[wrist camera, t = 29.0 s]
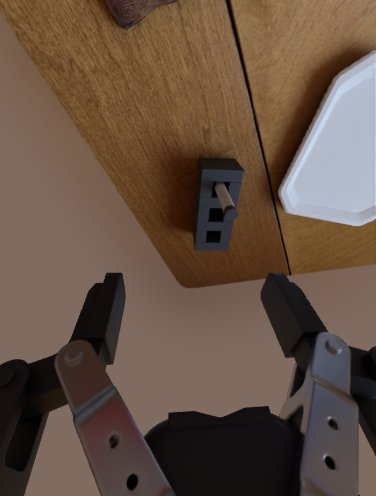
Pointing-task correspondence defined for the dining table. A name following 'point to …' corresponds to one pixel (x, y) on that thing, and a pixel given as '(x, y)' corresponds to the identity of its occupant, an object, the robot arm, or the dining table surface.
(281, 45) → the dining table surface
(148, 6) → the wooden tablet
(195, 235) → the pen block
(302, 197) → the plate
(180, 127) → the dining table surface
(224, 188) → the stylus
